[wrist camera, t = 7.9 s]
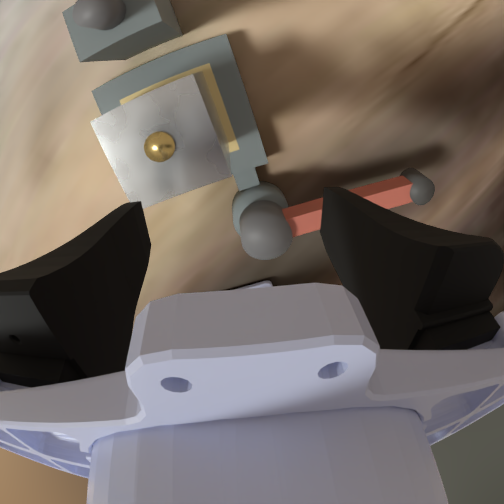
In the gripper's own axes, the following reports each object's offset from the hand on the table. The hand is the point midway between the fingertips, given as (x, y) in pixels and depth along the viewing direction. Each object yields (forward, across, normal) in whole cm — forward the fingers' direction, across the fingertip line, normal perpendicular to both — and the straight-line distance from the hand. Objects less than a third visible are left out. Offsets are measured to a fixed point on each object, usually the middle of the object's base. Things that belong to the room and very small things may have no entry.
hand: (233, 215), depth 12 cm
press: (+10, +3, -2) cm, 11 cm away
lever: (+7, -7, +3) cm, 11 cm away
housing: (+9, +3, -2) cm, 9 cm away
